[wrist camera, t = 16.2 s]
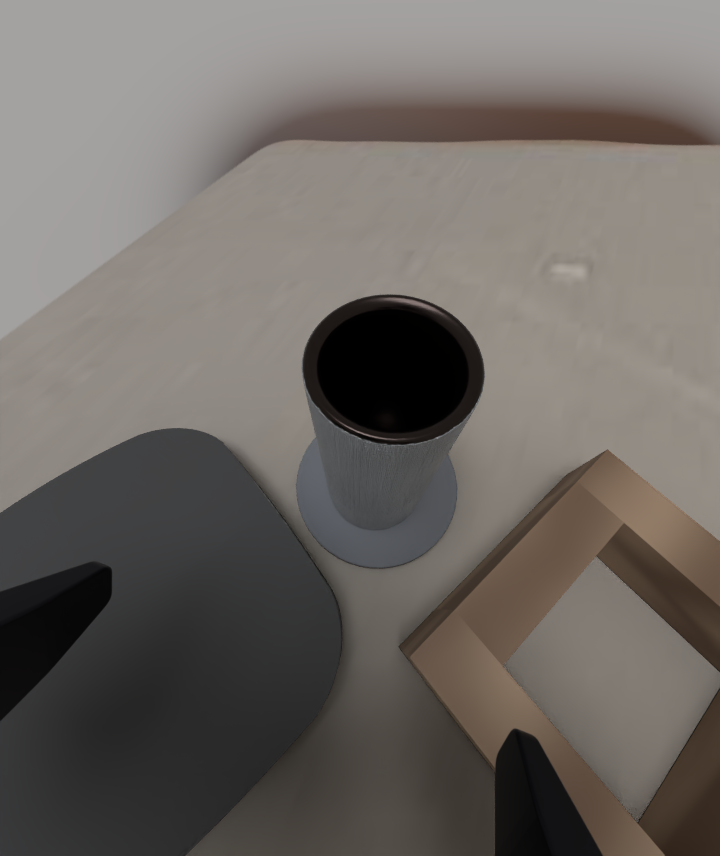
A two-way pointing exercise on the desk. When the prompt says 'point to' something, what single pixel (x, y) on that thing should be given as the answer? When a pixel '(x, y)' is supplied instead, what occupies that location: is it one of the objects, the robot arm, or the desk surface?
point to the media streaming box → (161, 651)
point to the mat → (374, 544)
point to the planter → (388, 401)
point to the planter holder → (535, 596)
